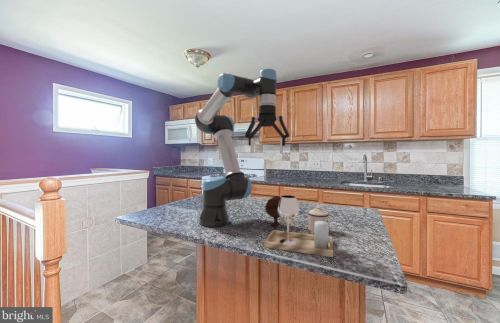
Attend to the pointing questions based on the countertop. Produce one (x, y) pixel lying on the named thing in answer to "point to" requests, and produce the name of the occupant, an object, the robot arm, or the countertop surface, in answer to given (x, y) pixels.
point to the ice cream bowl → (273, 209)
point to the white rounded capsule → (321, 234)
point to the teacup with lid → (316, 217)
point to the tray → (297, 243)
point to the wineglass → (288, 214)
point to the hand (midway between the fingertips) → (266, 153)
